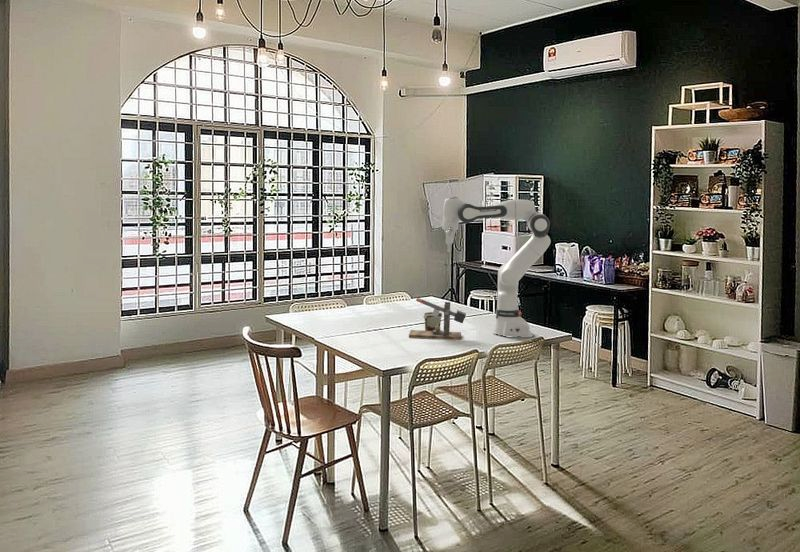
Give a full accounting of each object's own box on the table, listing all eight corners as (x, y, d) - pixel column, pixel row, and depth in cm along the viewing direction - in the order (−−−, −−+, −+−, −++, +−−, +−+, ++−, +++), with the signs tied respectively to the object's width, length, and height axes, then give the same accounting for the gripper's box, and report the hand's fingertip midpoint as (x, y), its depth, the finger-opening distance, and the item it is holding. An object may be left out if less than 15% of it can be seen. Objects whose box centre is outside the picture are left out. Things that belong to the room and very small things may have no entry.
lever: (460, 325, 381) (465, 313, 380) (460, 327, 377) (465, 315, 375) (413, 306, 383) (418, 294, 381) (412, 308, 378) (417, 295, 377)
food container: (434, 328, 402) (434, 311, 400) (441, 330, 397) (442, 312, 396) (418, 330, 394) (418, 313, 392) (425, 332, 389) (426, 315, 388)
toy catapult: (461, 334, 386) (462, 302, 383) (460, 339, 374) (462, 306, 371) (410, 332, 388) (411, 300, 386) (409, 337, 377) (409, 303, 374)
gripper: (455, 227, 373) (454, 253, 375) (456, 225, 393) (455, 249, 395) (443, 227, 374) (442, 252, 376) (445, 225, 394) (444, 249, 396)
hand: (449, 251), depth 386 cm, fingers open, 8 cm apart
